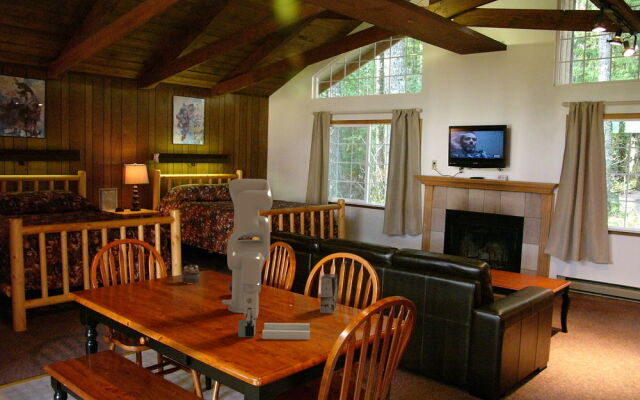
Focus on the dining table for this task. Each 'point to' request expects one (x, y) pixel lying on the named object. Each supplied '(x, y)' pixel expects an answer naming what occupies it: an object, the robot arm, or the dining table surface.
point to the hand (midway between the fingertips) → (250, 332)
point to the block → (242, 328)
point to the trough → (286, 331)
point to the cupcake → (190, 274)
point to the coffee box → (328, 293)
